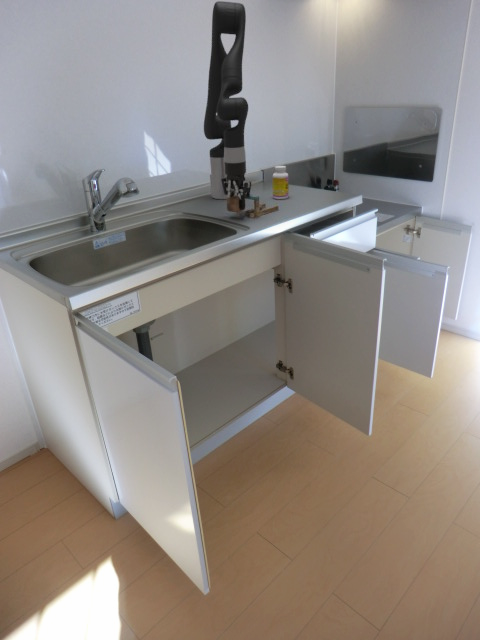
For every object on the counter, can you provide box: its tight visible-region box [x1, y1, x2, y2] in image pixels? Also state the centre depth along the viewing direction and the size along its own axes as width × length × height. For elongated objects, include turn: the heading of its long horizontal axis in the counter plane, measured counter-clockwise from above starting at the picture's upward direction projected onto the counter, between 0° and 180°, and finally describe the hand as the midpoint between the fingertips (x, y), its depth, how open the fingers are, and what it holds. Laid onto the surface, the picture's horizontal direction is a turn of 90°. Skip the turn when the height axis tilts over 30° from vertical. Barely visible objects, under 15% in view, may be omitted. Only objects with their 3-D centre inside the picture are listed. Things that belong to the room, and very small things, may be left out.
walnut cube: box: [226, 195, 245, 213], centre depth 176 cm, size 5×5×5 cm
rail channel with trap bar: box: [236, 193, 279, 219], centre depth 183 cm, size 10×14×8 cm
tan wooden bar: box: [239, 205, 263, 219], centre depth 182 cm, size 3×9×3 cm, turn 134°
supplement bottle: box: [272, 165, 290, 200], centre depth 201 cm, size 7×7×13 cm
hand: (237, 207), depth 177 cm, fingers closed on walnut cube, 4 cm apart
